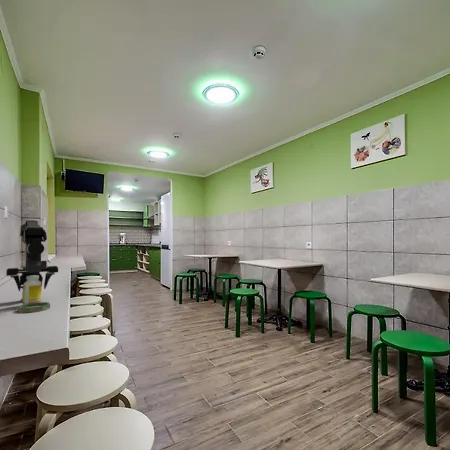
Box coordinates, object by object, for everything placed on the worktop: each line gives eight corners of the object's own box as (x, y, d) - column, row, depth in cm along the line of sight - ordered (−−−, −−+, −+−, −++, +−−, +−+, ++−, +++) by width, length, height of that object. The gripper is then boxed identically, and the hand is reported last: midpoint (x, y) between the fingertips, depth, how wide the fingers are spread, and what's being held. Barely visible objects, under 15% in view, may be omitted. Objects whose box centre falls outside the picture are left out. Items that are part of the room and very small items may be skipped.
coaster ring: (17, 309, 113) (17, 304, 113) (48, 305, 120) (48, 301, 120) (18, 314, 105) (18, 309, 105) (51, 309, 112) (51, 305, 112)
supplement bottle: (44, 303, 124) (45, 274, 125) (32, 306, 117) (33, 276, 118) (30, 303, 124) (31, 274, 125) (18, 306, 118) (19, 276, 119)
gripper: (7, 256, 110) (5, 295, 109) (60, 254, 122) (59, 289, 121) (7, 255, 119) (5, 291, 118) (56, 254, 131) (55, 286, 130)
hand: (32, 290), depth 121 cm, fingers open, 9 cm apart
